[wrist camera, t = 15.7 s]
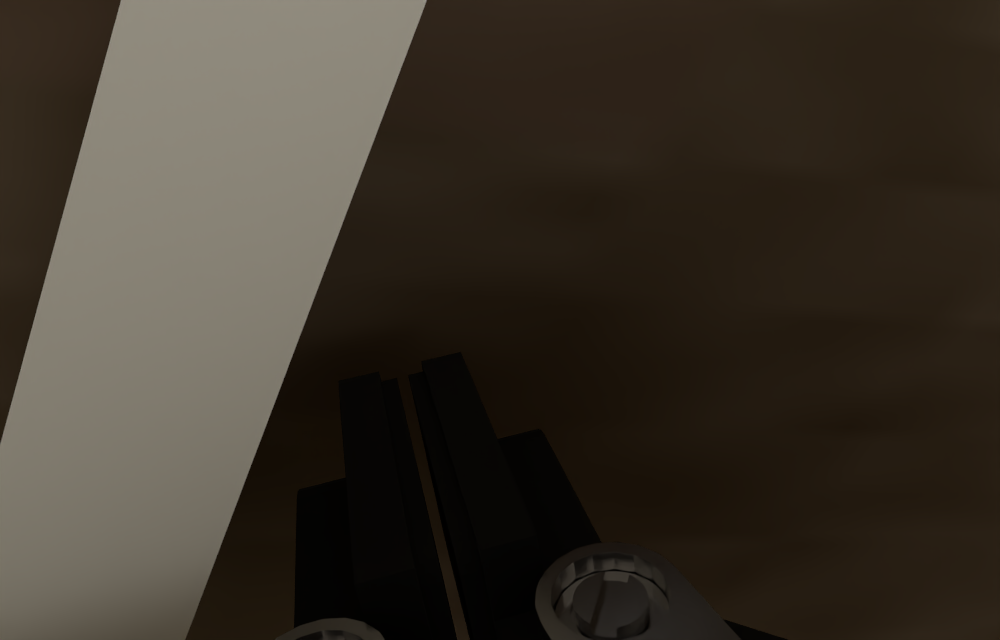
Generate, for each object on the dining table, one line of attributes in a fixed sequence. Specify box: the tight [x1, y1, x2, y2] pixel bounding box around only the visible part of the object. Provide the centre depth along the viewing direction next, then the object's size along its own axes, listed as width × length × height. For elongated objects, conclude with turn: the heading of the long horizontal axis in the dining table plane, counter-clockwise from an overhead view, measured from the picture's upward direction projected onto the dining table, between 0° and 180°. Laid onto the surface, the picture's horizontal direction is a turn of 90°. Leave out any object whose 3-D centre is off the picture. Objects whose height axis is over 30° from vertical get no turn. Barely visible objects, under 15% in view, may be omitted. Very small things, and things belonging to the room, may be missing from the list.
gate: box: [0, 0, 427, 640], centre depth 8 cm, size 16×2×6 cm, turn 156°
